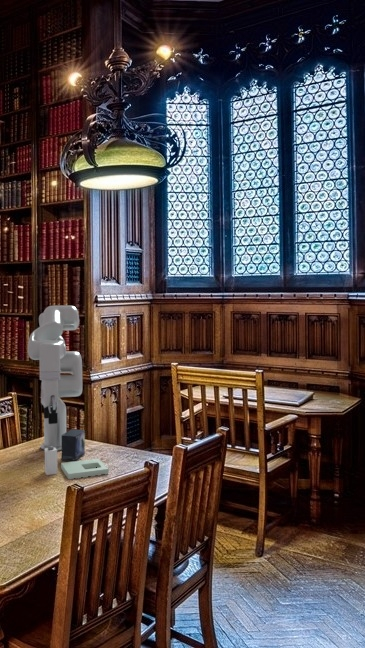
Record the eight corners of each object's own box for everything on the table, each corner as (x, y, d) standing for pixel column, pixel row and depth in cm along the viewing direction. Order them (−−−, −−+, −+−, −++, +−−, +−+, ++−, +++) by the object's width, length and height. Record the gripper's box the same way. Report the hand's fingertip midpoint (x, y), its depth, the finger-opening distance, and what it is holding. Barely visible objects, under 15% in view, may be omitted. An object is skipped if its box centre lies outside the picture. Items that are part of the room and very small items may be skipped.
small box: (75, 461, 223) (75, 436, 222) (60, 460, 224) (60, 435, 224) (85, 454, 233) (85, 429, 233) (71, 453, 235) (70, 428, 234)
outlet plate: (61, 468, 215) (60, 463, 215) (98, 463, 221) (98, 458, 221) (68, 479, 202) (68, 474, 202) (108, 474, 208) (108, 468, 208)
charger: (44, 471, 210) (44, 445, 210) (55, 470, 212) (55, 444, 211) (46, 475, 207) (46, 448, 206) (57, 473, 208) (57, 447, 208)
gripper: (36, 372, 214) (36, 416, 215) (43, 379, 198) (44, 426, 199) (55, 371, 217) (56, 415, 218) (64, 378, 201) (65, 424, 202)
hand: (50, 420), depth 208 cm, fingers open, 9 cm apart
